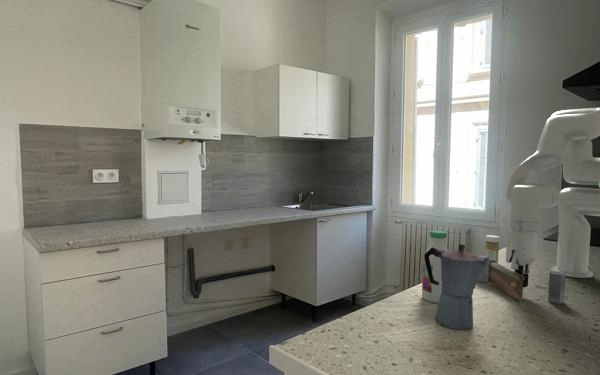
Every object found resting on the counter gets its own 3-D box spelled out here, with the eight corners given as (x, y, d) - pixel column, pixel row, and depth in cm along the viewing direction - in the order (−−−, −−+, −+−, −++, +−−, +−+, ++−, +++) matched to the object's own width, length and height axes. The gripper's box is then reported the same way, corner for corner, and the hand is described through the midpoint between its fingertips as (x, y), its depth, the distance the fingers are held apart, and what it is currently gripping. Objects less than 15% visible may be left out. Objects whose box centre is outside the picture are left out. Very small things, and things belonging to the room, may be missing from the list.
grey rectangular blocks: (479, 279, 135) (480, 255, 135) (564, 302, 114) (565, 273, 113) (474, 280, 134) (475, 256, 133) (559, 304, 112) (561, 275, 112)
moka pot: (483, 337, 90) (487, 251, 89) (415, 322, 99) (418, 243, 97) (488, 323, 98) (492, 244, 97) (425, 310, 107) (428, 237, 105)
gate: (492, 281, 131) (493, 259, 131) (523, 300, 114) (525, 275, 113) (484, 281, 131) (485, 259, 131) (514, 300, 114) (515, 274, 113)
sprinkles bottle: (500, 272, 144) (502, 236, 143) (493, 274, 142) (495, 237, 141) (488, 269, 148) (490, 234, 147) (481, 271, 146) (483, 235, 145)
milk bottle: (449, 296, 118) (452, 230, 116) (450, 305, 110) (453, 234, 109) (422, 293, 120) (424, 228, 119) (421, 301, 113) (423, 232, 112)
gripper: (523, 222, 126) (520, 278, 127) (498, 226, 117) (495, 287, 119) (549, 225, 119) (546, 284, 121) (524, 230, 111) (521, 294, 112)
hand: (521, 285), depth 120 cm, fingers closed
